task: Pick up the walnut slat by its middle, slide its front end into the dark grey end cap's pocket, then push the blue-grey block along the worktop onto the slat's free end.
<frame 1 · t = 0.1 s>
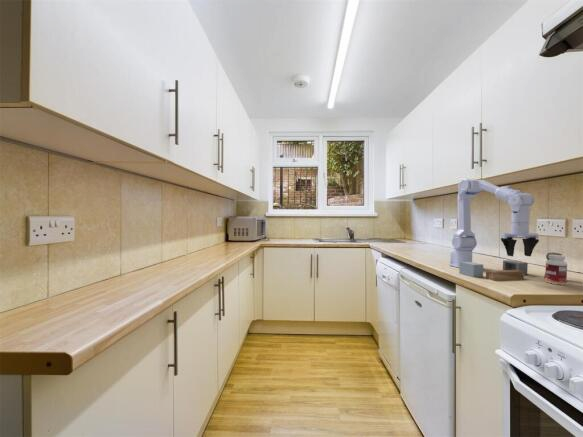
hand: (519, 256, 115), 10 cm above the worktop, tool pointing down, fingers open, 7 cm apart
slat: (504, 279, 118), on the worktop
blue-grey block: (470, 269, 124), point 3 cm above the worktop, slide at 0.0 cm
pill bottle: (555, 283, 111), on the worktop
cork: (553, 279, 119), on the worktop
end cap fixed: (514, 272, 130), on the worktop
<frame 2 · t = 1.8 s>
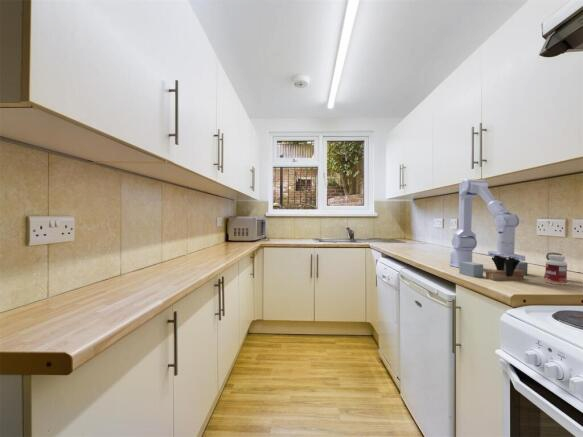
hand: (504, 275, 118), 1 cm above the worktop, tool pointing down, fingers closed on slat, 3 cm apart
slat: (504, 279, 118), on the worktop, touching gripper
everything else where it was.
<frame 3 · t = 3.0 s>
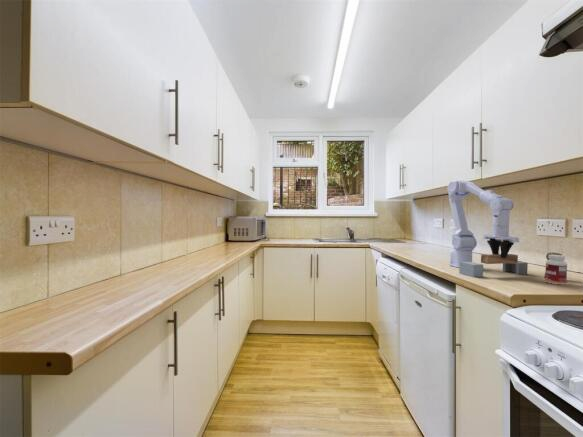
hand: (499, 257, 123), 8 cm above the worktop, tool pointing down, fingers closed on slat, 3 cm apart
slat: (499, 262, 123), point 6 cm above the worktop, touching gripper
everything else where it was.
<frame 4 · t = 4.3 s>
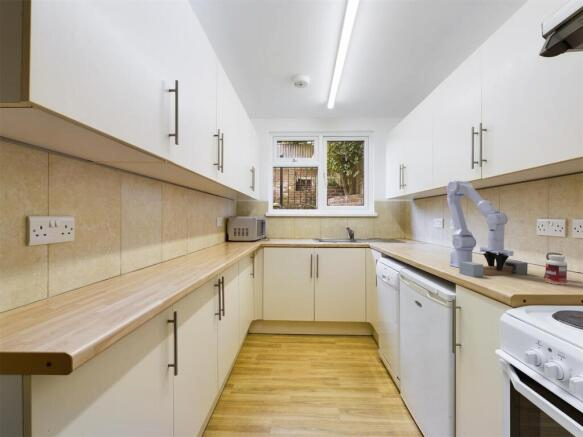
hand: (495, 269, 127), 2 cm above the worktop, tool pointing down, fingers closed on slat, 3 cm apart
slat: (494, 274, 127), on the worktop, touching gripper
everything else where it was.
when the fingers open (2 cm above the worktop, at t = 5.3 s): slat stays where it is, on the worktop.
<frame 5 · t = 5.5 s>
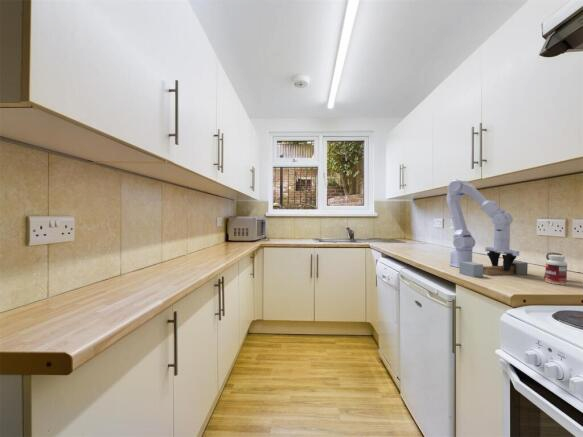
hand: (500, 269, 128), 2 cm above the worktop, tool pointing down, fingers open, 5 cm apart
slat: (498, 274, 128), on the worktop
everything else where it was.
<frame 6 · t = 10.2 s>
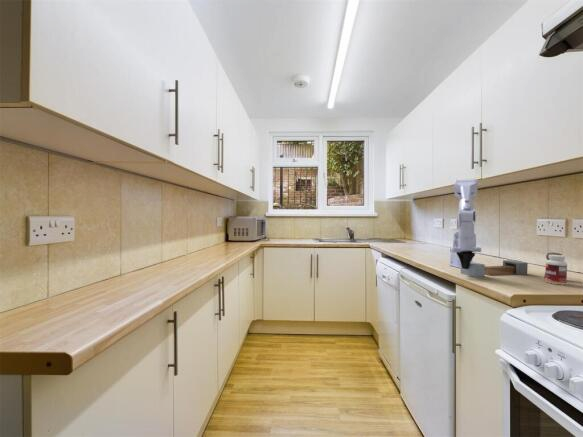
hand: (465, 268, 124), 3 cm above the worktop, tool pointing down, fingers closed
blue-grey block: (472, 269, 124), point 3 cm above the worktop, slide at 0.8 cm, touching gripper
everything else where it was.
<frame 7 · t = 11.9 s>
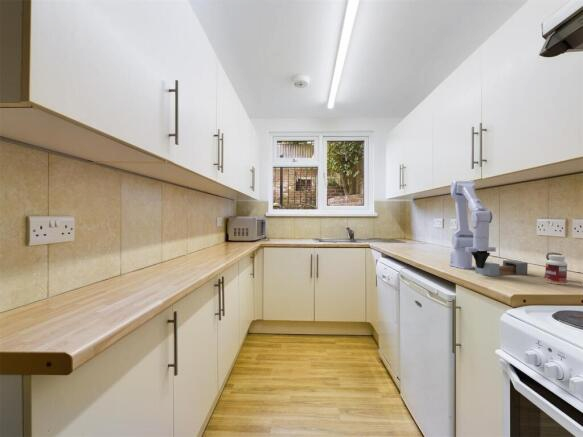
hand: (480, 268, 125), 3 cm above the worktop, tool pointing down, fingers closed
slat: (499, 274, 128), on the worktop, touching blue-grey block
blue-grey block: (487, 268, 126), point 3 cm above the worktop, slide at 8.7 cm, touching gripper, slat
everything else where it was.
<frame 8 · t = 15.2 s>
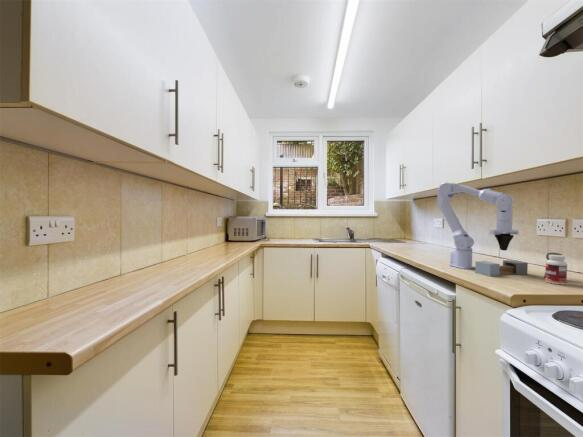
hand: (503, 250, 130), 10 cm above the worktop, tool pointing down, fingers closed
slat: (499, 274, 128), on the worktop
blue-grey block: (487, 268, 126), point 3 cm above the worktop, slide at 8.8 cm
everything else where it was.
at the end: slat 1.5 cm from the target spot, on the worktop; blue-grey block slide at 8.8 cm; slat tilted 0° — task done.
